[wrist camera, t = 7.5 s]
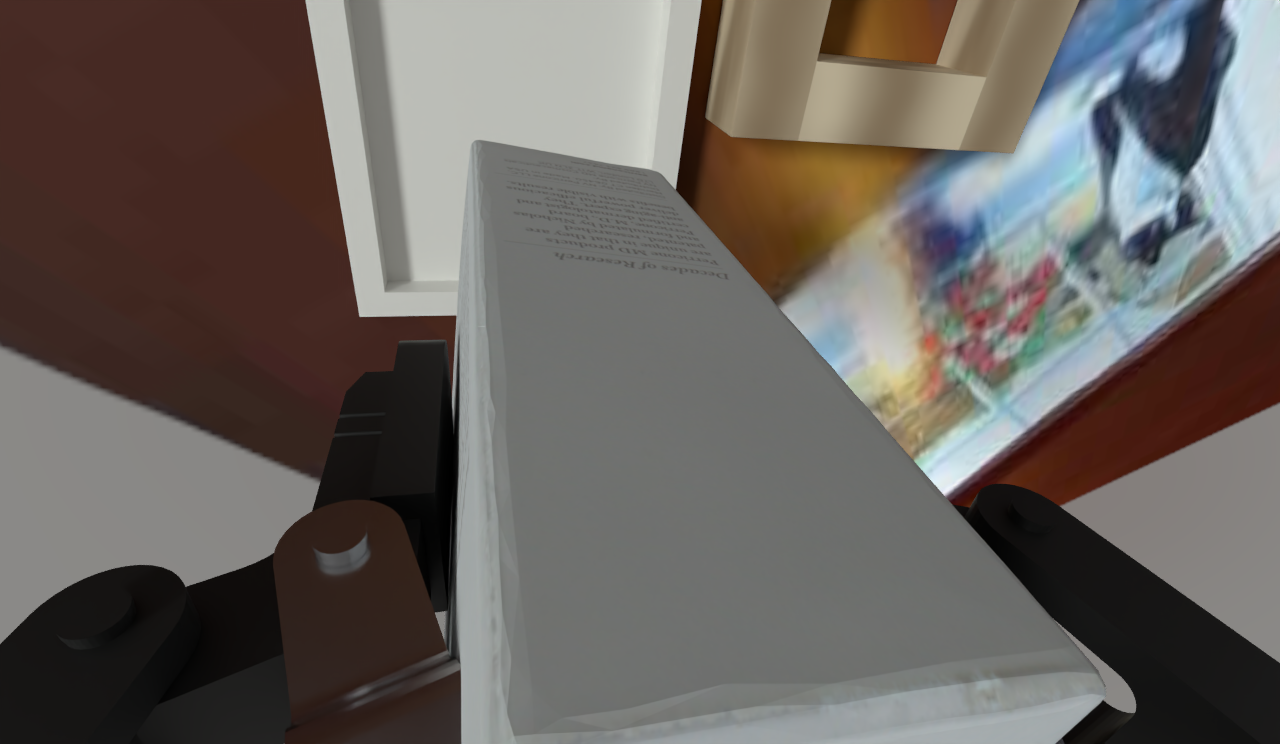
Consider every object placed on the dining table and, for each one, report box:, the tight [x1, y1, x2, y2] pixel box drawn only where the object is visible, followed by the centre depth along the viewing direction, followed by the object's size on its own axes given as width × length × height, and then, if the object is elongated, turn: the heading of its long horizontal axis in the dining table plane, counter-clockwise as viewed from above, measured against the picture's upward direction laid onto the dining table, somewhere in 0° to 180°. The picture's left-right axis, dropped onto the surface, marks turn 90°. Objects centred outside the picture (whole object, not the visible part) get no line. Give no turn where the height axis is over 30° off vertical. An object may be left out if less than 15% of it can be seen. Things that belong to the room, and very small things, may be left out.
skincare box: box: [444, 140, 1106, 744], centre depth 10 cm, size 6×4×12 cm
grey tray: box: [306, 0, 702, 317], centre depth 25 cm, size 14×16×2 cm
